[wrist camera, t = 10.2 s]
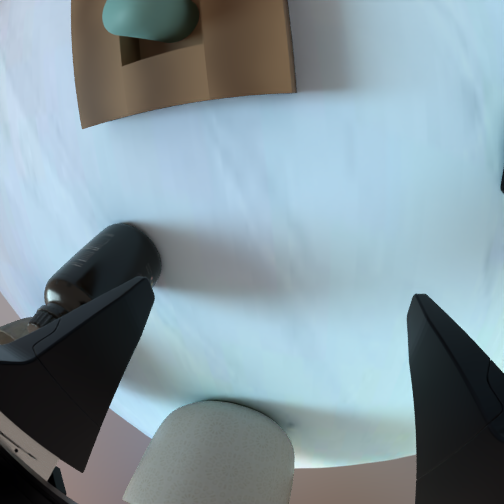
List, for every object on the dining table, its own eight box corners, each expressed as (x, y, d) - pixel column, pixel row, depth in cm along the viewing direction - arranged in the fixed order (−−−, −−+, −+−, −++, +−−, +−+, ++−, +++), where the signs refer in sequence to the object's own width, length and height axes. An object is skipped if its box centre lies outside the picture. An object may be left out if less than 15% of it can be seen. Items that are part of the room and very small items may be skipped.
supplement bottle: (104, 267, 27) (30, 349, 17) (103, 210, 23) (5, 292, 13) (161, 295, 27) (95, 394, 17) (169, 238, 23) (78, 346, 13)
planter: (328, 411, 32) (306, 548, 16) (278, 452, 43) (255, 540, 28) (172, 362, 33) (106, 493, 17) (170, 418, 45) (132, 502, 29)
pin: (197, -8, 12) (156, -32, 7) (201, 36, 13) (159, 22, 9) (149, 6, 12) (101, -7, 8) (153, 48, 14) (103, 44, 10)
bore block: (277, -64, 9) (268, -85, 6) (296, 93, 15) (291, 92, 13) (97, -9, 12) (71, -13, 10) (108, 121, 18) (82, 129, 16)
